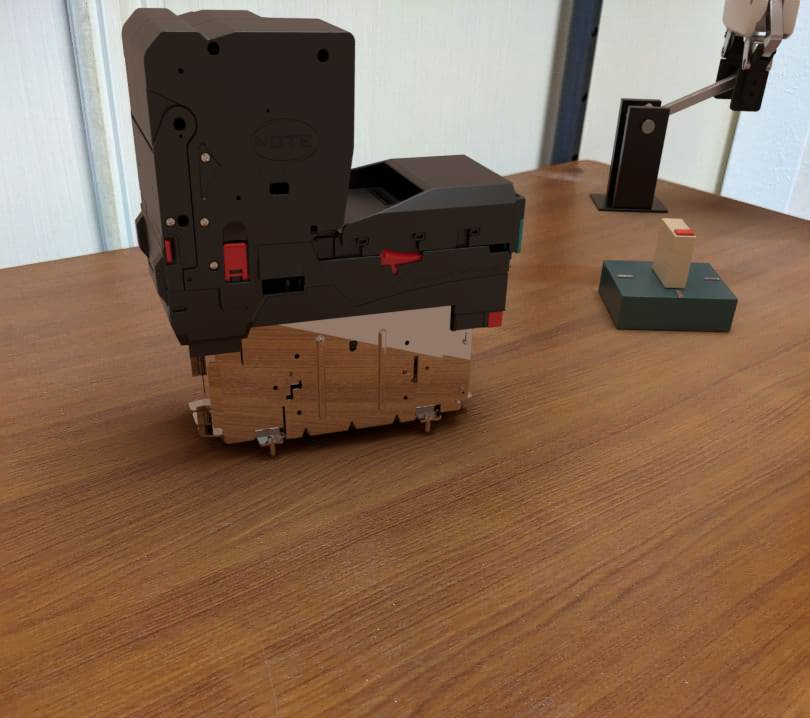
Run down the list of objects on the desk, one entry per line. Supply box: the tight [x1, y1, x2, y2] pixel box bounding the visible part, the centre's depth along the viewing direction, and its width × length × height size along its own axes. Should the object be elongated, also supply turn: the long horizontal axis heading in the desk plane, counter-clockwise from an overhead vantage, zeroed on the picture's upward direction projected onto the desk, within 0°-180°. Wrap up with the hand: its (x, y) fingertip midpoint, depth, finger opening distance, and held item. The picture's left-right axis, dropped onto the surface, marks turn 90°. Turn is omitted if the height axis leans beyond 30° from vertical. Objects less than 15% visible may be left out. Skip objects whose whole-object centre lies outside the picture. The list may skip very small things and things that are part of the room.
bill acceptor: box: [120, 7, 527, 457], centre depth 59 cm, size 10×23×25 cm, turn 110°
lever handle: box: [626, 67, 739, 118], centre depth 101 cm, size 13×6×2 cm, turn 90°
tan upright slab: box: [652, 217, 697, 288], centre depth 81 cm, size 5×2×5 cm, turn 0°
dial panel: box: [598, 259, 739, 333], centre depth 83 cm, size 10×9×3 cm
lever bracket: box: [589, 97, 670, 214], centre depth 105 cm, size 8×6×12 cm
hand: (735, 102), depth 101 cm, fingers closed on lever handle, 5 cm apart
